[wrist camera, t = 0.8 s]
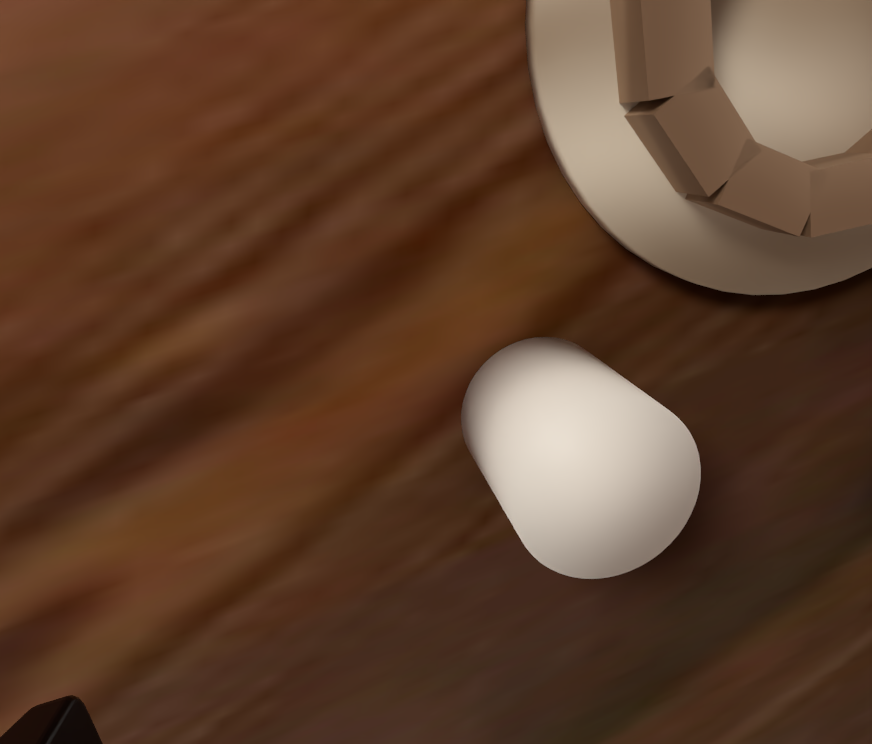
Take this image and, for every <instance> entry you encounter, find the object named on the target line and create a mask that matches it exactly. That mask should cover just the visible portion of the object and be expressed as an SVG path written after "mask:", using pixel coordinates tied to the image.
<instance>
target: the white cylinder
mask: <svg viewBox="0 0 872 744" xmlns="http://www.w3.org/2000/svg"><path fill="white" fill-rule="evenodd" d="M461 425H462V432H463V436H464V440H465V443H466V445H467V448H468V450H469V451H470V453H471V455H472V457H473V458H474V460H475V462H476V463H477V465H478V467H479V469H480V470H481V472H482V474H483V475H484V477H485V479H486V481H487V482H488V484H489V486H490V487H491V489H492V491H493V493H494V494H495V496H496V498H497V499H498V501H499V503H500V505H501V506H502V508H503V510H504V511H505V513H506V515H507V517H508V518H509V520H510V522H511V523H512V525H513V527H514V529H515V530H516V532H517V534H518V535H519V537H520V539H521V540H522V542H523V544H524V545H525V547H526V548H527V550H528V551H529V552H530V553H531V554H532V556H534V557H535V558H536V559H537V560H538V561H539V562H540V563H542V564H543V565H545V566H546V567H548V568H550V569H552V570H554V571H556V572H558V573H560V574H564V575H567V576H570V577H576V578H582V579H598V578H607V577H612V576H617V575H620V574H623V573H626V572H629V571H631V570H633V569H636V568H638V567H640V566H642V565H643V564H645V563H647V562H648V561H650V560H652V559H653V558H654V557H656V556H657V555H658V554H660V553H661V552H662V551H663V550H664V549H665V548H666V547H668V546H669V545H670V544H671V543H672V541H673V540H674V539H675V538H676V537H677V536H678V534H679V533H680V532H681V530H682V529H683V527H684V526H685V524H686V523H687V521H688V519H689V517H690V515H691V513H692V511H693V508H694V506H695V503H696V500H697V497H698V493H699V488H700V480H701V466H700V459H699V454H698V450H697V447H696V444H695V442H694V440H693V437H692V435H691V434H690V432H689V431H688V429H687V428H686V426H685V425H684V424H683V423H682V421H681V420H680V419H679V418H678V417H677V416H676V415H674V414H673V413H672V412H670V411H669V410H668V409H667V408H665V407H664V406H662V405H661V404H660V403H658V402H657V401H655V400H654V399H653V398H651V397H650V396H649V395H647V394H646V393H644V392H643V391H642V390H640V389H639V388H637V387H636V386H635V385H633V384H632V383H631V382H629V381H628V380H626V379H625V378H624V377H622V376H621V375H619V374H618V373H617V372H615V371H614V370H613V369H611V368H610V367H608V366H607V365H606V364H604V363H603V362H601V361H600V360H599V359H597V358H596V357H595V356H593V355H592V354H590V353H589V352H588V351H586V350H585V349H583V348H582V347H580V346H578V345H577V344H575V343H572V342H570V341H567V340H563V339H559V338H552V337H536V338H530V339H525V340H522V341H518V342H516V343H513V344H511V345H509V346H507V347H505V348H503V349H502V350H500V351H498V352H497V353H496V354H494V355H493V356H492V357H491V358H489V359H488V360H487V361H486V362H485V363H484V364H483V365H482V367H481V368H480V369H479V370H478V372H477V373H476V374H475V376H474V377H473V379H472V381H471V382H470V384H469V387H468V389H467V391H466V394H465V397H464V401H463V405H462V412H461Z"/></svg>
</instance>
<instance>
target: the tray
mask: <svg viewBox="0 0 872 744" xmlns="http://www.w3.org/2000/svg"><path fill="white" fill-rule="evenodd" d="M525 32H526V46H527V61H528V70H529V75H530V81H531V86H532V91H533V96H534V101H535V106H536V110H537V113H538V116H539V119H540V122H541V125H542V128H543V131H544V134H545V137H546V141H547V143H548V145H549V147H550V149H551V152H552V154H553V156H554V158H555V160H556V162H557V164H558V167H559V169H560V171H561V173H562V175H563V176H564V178H565V180H566V181H567V183H568V184H569V186H570V187H571V189H572V190H573V192H574V194H575V195H576V197H577V198H578V200H579V201H580V203H581V204H582V205H583V206H584V208H585V209H586V210H587V211H588V212H589V213H590V215H591V216H592V217H593V218H594V219H595V220H596V222H597V223H598V224H599V225H600V226H601V227H602V228H603V229H604V230H605V231H606V232H607V233H608V234H609V235H611V236H612V237H613V238H614V239H615V240H616V241H617V242H619V243H620V244H621V245H622V246H623V247H624V248H625V249H627V250H628V251H630V252H631V253H633V254H635V255H636V256H638V257H639V258H641V259H642V260H644V261H645V262H647V263H649V264H650V265H652V266H654V267H656V268H658V269H660V270H663V271H665V272H667V273H669V274H672V275H674V276H676V277H678V278H681V279H684V280H686V281H689V282H692V283H695V284H698V285H702V286H706V287H709V288H713V289H716V290H720V291H724V292H732V293H740V294H749V295H777V294H789V293H795V292H801V291H807V290H813V289H817V288H820V287H823V286H827V285H830V284H833V283H837V282H840V281H843V280H846V279H848V278H850V277H852V276H855V275H857V274H859V273H861V272H864V271H866V270H868V269H870V268H872V0H526V18H525Z"/></svg>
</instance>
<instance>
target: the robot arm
mask: <svg viewBox="0 0 872 744" xmlns="http://www.w3.org/2000/svg"><path fill="white" fill-rule="evenodd" d="M0 744H102V741H101V739H100V737H99V735H98V733H97V731H96V728H95V726H94V724H93V722H92V720H91V717H90V715H89V713H88V711H87V709H86V707H85V705H84V703H83V702H82V701H81V700H80V699H79V698H78V697H75V696H73V695H70V696H66V697H63V698H59V699H56V700H53V701H49V702H46V703H43V704H40V705H37V706H35V707H33V708H31V709H30V710H29V711H28V712H27V713H26V714H25V715H23V716H22V717H21V718H20V719H19V720H18V721H17V722H16V723H15V724H14V725H13V726H12V727H11V728H10V729H9V730H8V731H7V732H5V733H4V734H3V735H2V736H1V737H0Z"/></svg>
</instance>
